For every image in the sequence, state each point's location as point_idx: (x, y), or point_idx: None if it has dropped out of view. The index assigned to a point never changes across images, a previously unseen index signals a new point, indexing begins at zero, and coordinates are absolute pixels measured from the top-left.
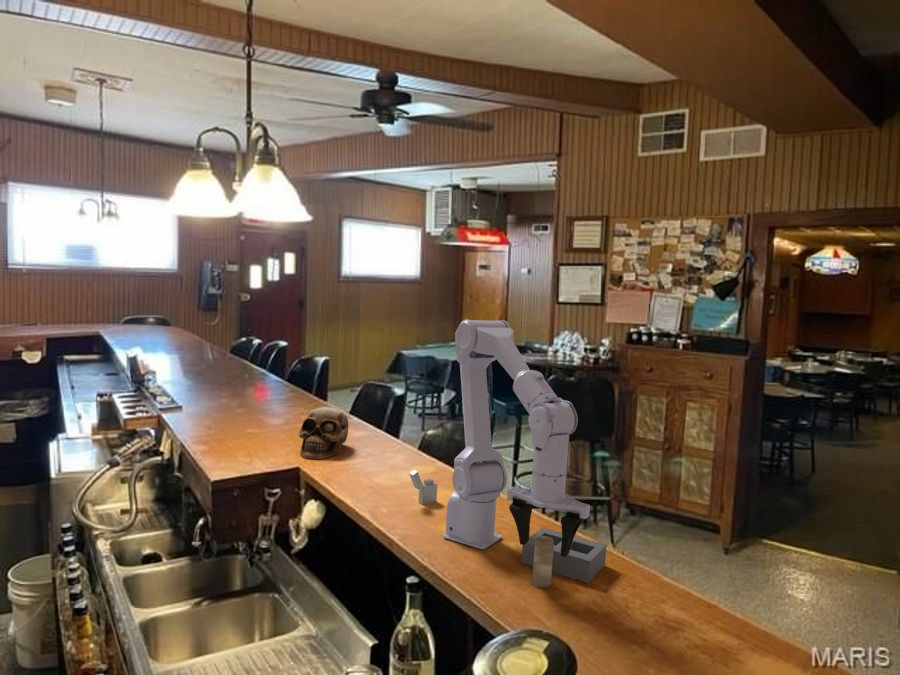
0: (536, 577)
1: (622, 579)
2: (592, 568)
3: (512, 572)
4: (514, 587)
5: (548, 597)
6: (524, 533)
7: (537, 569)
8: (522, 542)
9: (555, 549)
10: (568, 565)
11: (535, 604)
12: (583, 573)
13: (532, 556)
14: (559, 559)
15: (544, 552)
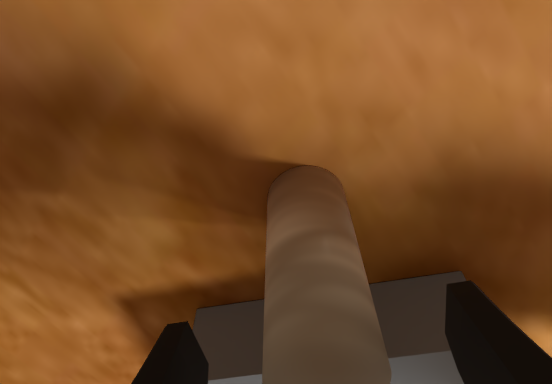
0: (311, 188)
1: None
2: None
3: (454, 191)
4: (377, 91)
5: (214, 133)
6: (482, 360)
7: (312, 212)
8: (459, 293)
9: None
10: None
11: (206, 32)
12: (211, 330)
13: (427, 307)
14: None
15: (285, 295)
